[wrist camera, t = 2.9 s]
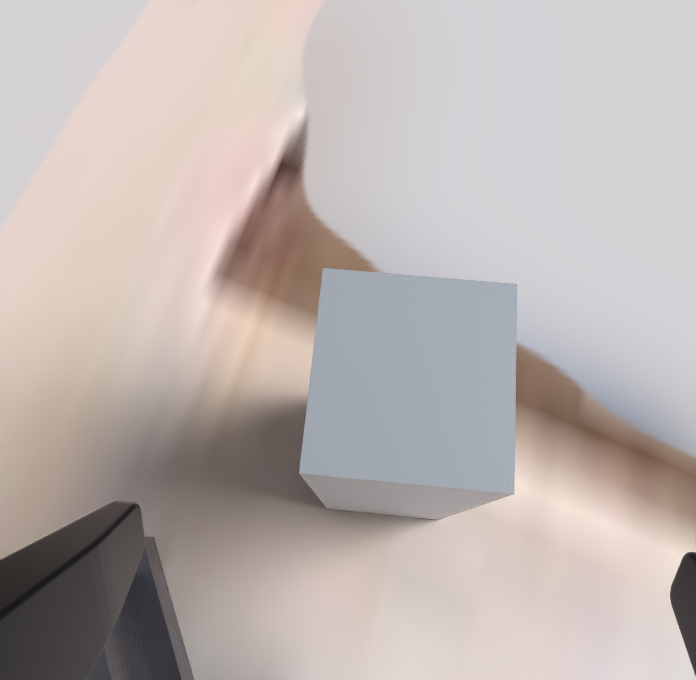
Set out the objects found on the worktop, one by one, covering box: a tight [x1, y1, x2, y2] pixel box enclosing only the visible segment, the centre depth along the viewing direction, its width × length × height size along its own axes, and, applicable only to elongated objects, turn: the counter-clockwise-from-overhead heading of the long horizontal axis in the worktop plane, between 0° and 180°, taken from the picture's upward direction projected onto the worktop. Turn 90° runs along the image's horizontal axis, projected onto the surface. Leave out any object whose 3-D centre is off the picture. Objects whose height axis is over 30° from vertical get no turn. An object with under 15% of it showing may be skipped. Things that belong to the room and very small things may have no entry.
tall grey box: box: [299, 268, 517, 520], centre depth 17 cm, size 4×4×11 cm
